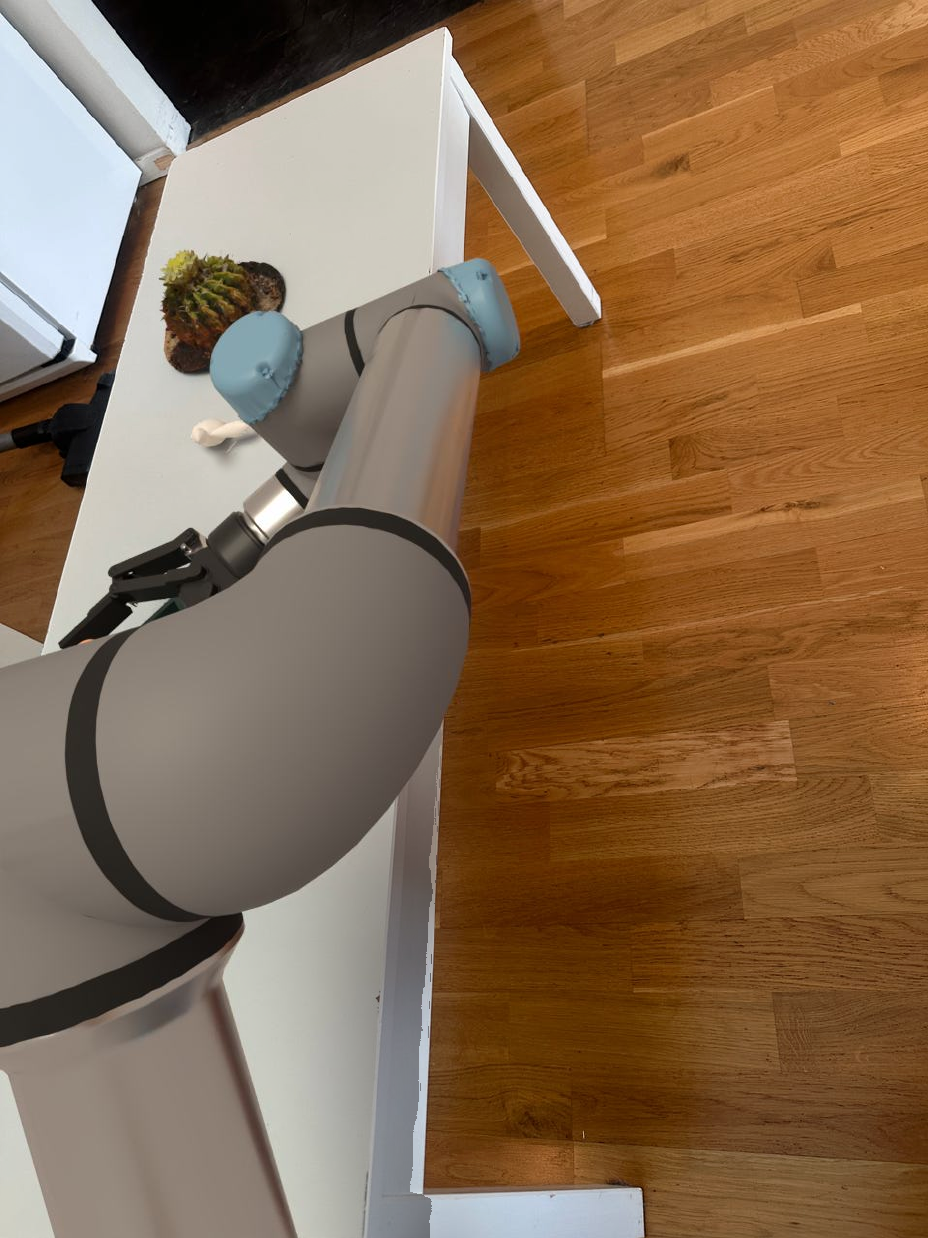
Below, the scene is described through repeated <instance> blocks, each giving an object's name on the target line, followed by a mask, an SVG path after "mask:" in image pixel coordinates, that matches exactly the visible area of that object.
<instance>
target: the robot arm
mask: <svg viewBox="0 0 928 1238" xmlns="http://www.w3.org/2000/svg"><path fill="white" fill-rule="evenodd" d="M520 350H521V335H520V332H519V327H518V323H517V319H516V315H515V313H514V308H513V306H512V302H511V300H510V298H509V295H508V292H507V289H506V288H505V284H504V283H503V280H502V278H501V276H500V275H499V273H498V271H497V269H496V268H495V266H493V264H492V263H491V262H490V261H488V260H486V259H484V258H482V257H475V258H471V259H468V260H465V261H463V262H459V263H456V264H454V265H451V266H447V267H440V268H438V269H437V270H436V272H434V273H432V274H430V275H427V276H425V277H424V278H420V279H419V280H416V281H414V282H412V283H409V284H407V285H405V286H403V287H399V288H398V289H396V290H394V291H391V292H388V293H387V294H385V295H382V296H380V297H378V298H375V299H374V300H371V301H369V302H367V303H364V304H362V305H359V306H357V307H354V308H352V309H349V310H346V311H344V312H342V313H339V314H337V315H334V316H332V317H330V318H328V319H325V320H323V321H320V322H317V323H316V324H313V325H311V326H308V327H307V328H303V329H301V330H300V327H299V326H298V325H297V324H295V323H293V321H291V320H290V319H288V317H287V316H285V315H284V314H282V313H281V312H278V311H268V312H262V311H256V312H253V313H250V314H248V315H246V316H244V317H242V318H240V319H239V320H237V321H236V322H235V323H233V324H232V325H231V326H230V327H229V328H228V329H227V330H226V331H225V332H224V333H223V335H222V336H221V337H220V339H219V340H218V342H217V344H216V345H215V347H214V349H213V352H212V355H211V360H210V365H209V377H210V381H211V384H212V385H213V386H214V389H215V390H216V391H217V392H218V394H219V395H220V396H221V397H222V398H223V399H224V400H225V401H226V402H227V404H228V405H229V406H230V407H231V409H233V410H234V412H235V413H236V414H237V417H238V418H239V419H240V421H243V422H245V423H246V424H248V425H249V426H250V429H252V430H253V431H254V432H255V433H256V434H257V435H258V436H259V437H261V439H263V440H264V441H265V442H266V443H267V444H268V445H269V446H270V447H271V448H272V449H274V451H276V452H277V454H279V455H280V456H281V457H282V458H283V459H284V460H285V461H286V462H285V463H284V464H283V465H282V466H281V467H280V468H279V469H278V470H277V471H276V472H275V473H273V475H271V476H270V477H269V478H268V479H267V480H266V481H265V482H264V483H263V484H262V485H260V486H259V487H258V488H257V489H255V491H254V492H252V493H251V494H250V495H249V496H248V497H247V498H246V499H245V500H244V501H242V509H243V511H240V510H239V511H232V512H231V513H230V514H229V515H228V516H227V517H226V518H224V520H223V521H221V522H220V523H219V525H217V526H216V527H215V528H213V530H211V532H209V534H208V536H207V537H206V536H204V535H203V534H202V533H201V532H199V531H198V530H196V529H195V528H193V527H187V529H185V530H184V531H182V532H181V533H180V534H179V535H178V536H176V537H175V538H173V539H171V540H170V541H168V542H165V543H162V544H161V545H158V546H156V547H154V548H151V549H149V550H146V551H144V552H141V553H139V554H137V555H135V556H132V557H129V558H128V559H125V560H123V561H120V562H118V563H116V564H113V565H111V566H110V567H109V568H108V570H107V575H108V577H110V578H111V584H110V585H109V587H108V592H107V593H106V594H105V595H104V596H102V598H101V599H99V600H98V602H96V603H95V604H94V605H93V606H92V607H91V608H90V609H89V610H88V612H87V613H86V616H85V617H84V618H83V619H82V620H81V621H79V623H77V625H76V626H74V627H73V628H72V629H71V630H70V631H69V632H68V633H67V634H66V635H65V636H64V637H62V638H61V639H60V640H59V641H58V642H57V645H58V647H59V649H58V650H55V651H52V652H48V653H46V654H42V655H39V656H36V657H32V658H29V659H26V660H22V661H19V662H15V663H13V664H9V665H6V666H2V667H0V1071H2V1072H3V1073H5V1074H6V1075H7V1077H8V1081H9V1084H10V1088H11V1091H12V1094H13V1098H14V1102H15V1104H16V1108H17V1112H18V1115H19V1119H20V1122H21V1126H22V1129H23V1133H24V1136H25V1139H26V1143H27V1147H28V1150H29V1153H30V1156H31V1161H32V1163H33V1167H34V1170H35V1174H36V1177H37V1181H38V1184H39V1188H40V1192H41V1194H42V1198H43V1201H44V1205H45V1208H46V1211H47V1215H48V1218H49V1222H50V1225H51V1228H52V1233H53V1235H54V1238H299V1235H298V1233H297V1229H296V1226H295V1222H294V1220H293V1216H292V1212H291V1208H290V1206H289V1201H288V1199H287V1194H286V1192H285V1191H286V1190H285V1189H284V1185H283V1180H282V1178H281V1175H280V1170H279V1168H278V1164H277V1161H276V1157H275V1154H274V1150H273V1147H272V1144H271V1141H270V1137H269V1134H268V1129H267V1127H266V1123H265V1120H264V1116H263V1113H262V1109H261V1105H260V1103H259V1099H258V1094H257V1092H256V1088H255V1085H254V1082H253V1081H254V1080H253V1079H252V1075H251V1071H250V1068H249V1064H248V1061H247V1057H246V1054H245V1051H244V1047H243V1043H242V1041H241V1037H240V1033H239V1030H238V1027H237V1022H236V1020H235V1016H234V1014H233V1010H232V1009H233V1008H232V1006H231V1002H230V999H229V995H228V992H227V989H226V985H225V982H224V972H225V969H226V967H227V965H228V964H229V962H230V960H231V958H232V956H233V954H234V952H235V950H236V948H237V947H238V945H239V942H240V940H241V939H242V937H243V935H244V933H245V931H246V930H245V929H246V924H245V920H244V914H243V912H247V911H250V910H251V911H252V910H254V909H257V908H261V907H263V906H266V905H269V904H271V903H274V902H276V901H278V900H281V899H283V898H285V897H287V896H289V895H292V894H293V893H296V892H298V891H300V890H301V889H303V888H304V887H306V886H308V884H311V883H312V882H313V881H315V880H316V879H317V878H319V877H320V876H321V875H323V874H325V873H326V872H327V871H329V870H330V869H331V868H332V867H333V866H335V865H336V864H337V863H338V862H339V861H340V860H341V859H343V858H344V857H345V856H347V854H348V853H349V852H351V851H352V850H353V849H355V848H356V846H357V845H358V844H359V843H361V841H362V840H363V839H364V837H365V836H367V834H368V833H369V832H370V831H371V830H372V828H373V827H374V826H375V825H376V824H377V823H378V822H379V821H380V820H381V819H382V817H383V816H384V815H385V814H386V813H387V812H388V810H389V809H390V808H391V806H392V805H393V803H394V802H395V800H396V799H397V797H399V795H400V793H401V792H402V790H403V789H404V788H405V786H406V785H407V783H408V782H409V780H411V778H412V777H413V775H414V774H415V772H416V771H417V770H418V768H419V766H420V765H421V763H422V761H423V759H424V757H425V755H426V754H427V752H428V750H429V748H430V746H431V744H432V743H433V741H434V739H435V738H436V736H437V734H438V732H439V730H440V728H441V726H442V725H443V722H444V719H445V716H446V714H447V712H448V710H449V707H450V705H451V702H452V700H453V698H454V695H455V693H456V690H457V688H458V685H459V681H460V678H461V674H462V671H463V666H464V664H465V659H466V656H467V651H468V645H469V639H470V630H471V629H470V628H471V619H472V606H473V605H472V604H473V603H472V602H473V596H472V589H471V585H470V580H469V577H468V574H467V572H466V570H465V568H464V565H463V563H462V562H461V560H460V559H459V557H458V556H457V548H458V542H459V541H458V540H459V533H460V527H461V526H460V525H461V519H462V512H463V504H464V497H465V489H466V481H467V475H468V468H469V460H470V453H471V445H472V438H473V430H474V423H475V416H476V415H475V414H476V409H477V402H478V401H477V400H478V393H479V387H480V386H479V385H480V379H481V375H482V374H484V373H486V374H489V373H491V372H493V371H494V370H495V369H496V368H498V367H500V366H502V365H505V364H507V363H509V362H511V361H512V360H513V359H515V358H516V357H517V356H518V354H519V353H520ZM188 564H189V565H188ZM186 565H188V566H186ZM184 566H185V567H184ZM176 597H179V598H180V599H181V601H183V602H184V603H185V604H186V607H187V608H186V609H184V610H181V611H179V612H176V613H173V614H171V615H168V616H165V617H162V618H159V619H157V620H154V621H151V622H149V623H147V624H144V625H142V624H141V625H138V626H134V627H130V628H128V629H125V630H122V631H118V632H115V633H112V632H114V631H115V630H116V629H117V628H118V627H119V626H120V625H121V624H123V622H125V621H126V619H128V618H129V617H130V616H131V615H132V614H133V613H134V611H133V609H132V607H131V606H133V607H135V608H138V605H139V603H140V604H141V603H149V602H153V601H161V600H169V599H170V598H176ZM128 604H129V605H131V606H129V605H128ZM111 633H112V634H111ZM88 639H93V640H92V641H88V642H85V643H82V644H79V643H81V642H82V641H85V640H88ZM78 644H79V645H78Z"/></svg>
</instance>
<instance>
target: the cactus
mask: <svg viewBox="0 0 928 1238" xmlns="http://www.w3.org/2000/svg"><path fill="white" fill-rule="evenodd" d="M221 253H222V251H220V254H221ZM174 254H175V256H174V258H173V257H170V258H168V260H167V263H165V264H163V265H164V266H166V268H165V267H162V268H160V269H159V270H160V272H163V276H161V277H158V280H159V281H164V282H163V283H162V286H163V287H166V289H165V288H164V291H162V293H163V294H164V296H163V299H162V300H161V301H160V303H161V305H160V307H159V308H161V307H162V308H161V309H159V311H160V312H162V313H163V314H164V315H162V318H161V319H160V321H164V322H165V324H166V325H165V330H164V331H165V334H164V335H165V336H164V343H163V352H164V356H165V358H166V361H167V362H168V364H169V365H170V366H171V367H173V369H175V370H177V371H179V373H183V372H193V371H198V370H202V369H204V368H205V367H208V366H209V367H210V360H211V355H212V352H213V349H214V347H215V345H216V344H217V342H218V340H219V339H220V337H221V336H222V335H223V333H224V332H225V331H226V330H227V329H228V328H229V327H230V326H231V325H232V324H233V323H235V322H236V321H237V320H239V319H240V318H242V317H244V316H246V315H248V314H250V313H253V312H256V311H262V312H268V311H276V312H278V309H279V305H280V304H281V302H282V301H283V299H282V298H283V293H284V292H285V283H284V281H283V278H282V275H281V272H280V271H279V269H277V268H276V267H274V265H272V264H270V263H267V262H263V261H262V262H258V261H255V260H253V261H252V260H249V261H243V260H241V261H238V263H236V262H235V261H234V260H233V259H231V258H229V257H230V253H228V254H226V256H225V257H224V258H223V256H222V255H219V256H217V255H210V256H208V254H209V253H208V252H206V254H205V255H204V256H203V258H199V256H198V255H197V254H196V253H195V251H194V250H192V249H191V250H189V249H187V250H186V249H183V250H178V253H177V252H174ZM233 255H234V254H231V257H232V258H233Z"/></svg>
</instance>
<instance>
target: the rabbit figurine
mask: <svg viewBox="0 0 928 1238" xmlns="http://www.w3.org/2000/svg"><path fill="white" fill-rule="evenodd" d="M250 429H251V427H250V426H249V425H248V424H246V423H245V422H243V420H234V421H230V422H227V423H226V422H225V421H223V420H222V419H219V418H207V419H204V420H202V421H199V422H198V423H197V424H195V426H194V427H193V428H192V430H191V435H190V437H189V438H190V439H191V440H192V441H193V442H194V444H197V445H198V446H201V447H215V446H218V445H220V444H222V443H223V442H224V441H225V440H226V439H227V438H228V439H229V438H234V437H239V436H242V435H244V434H245V433H247V432H249V430H250ZM237 443H238V441H237V440H235V441H234V442H233V443H232V444H231V445H230V446H229V448H227V450H226V453H229V452H230V451H231V450H232V449H233V448H234V446H235V445H236V444H237Z"/></svg>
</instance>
